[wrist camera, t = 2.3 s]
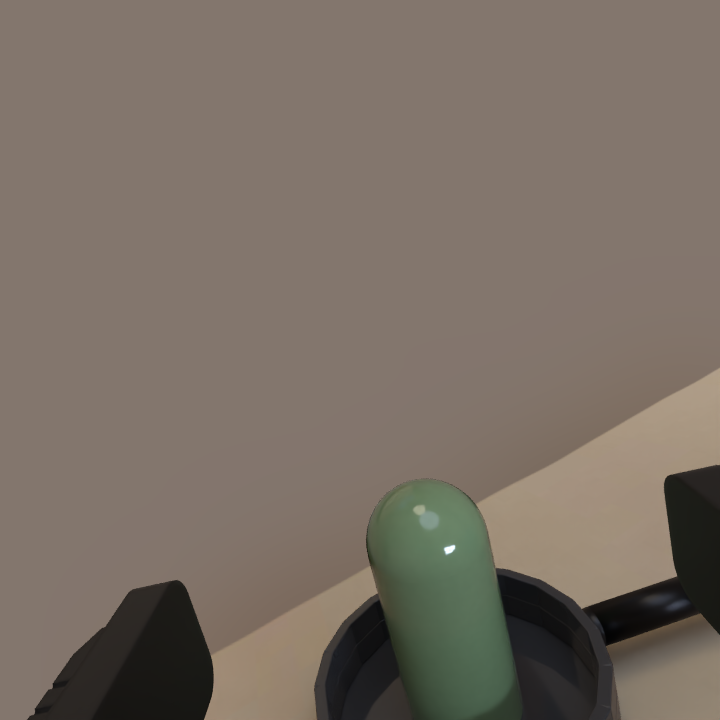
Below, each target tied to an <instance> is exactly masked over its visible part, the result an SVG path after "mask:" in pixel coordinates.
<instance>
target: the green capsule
mask: <svg viewBox="0 0 720 720" xmlns="http://www.w3.org/2000/svg"><path fill="white" fill-rule="evenodd" d="M366 536H367V537H366V546H367V552H368V558H369V562H370V566H371V569H372V573H373V577H374V581H375V585H376V588H377V592H378V596H379V600H380V603H381V607H382V611H383V615H384V618H385V622H386V626H387V630H388V634H389V637H390V641H391V645H392V649H393V652H394V656H395V660H396V664H397V667H398V671H399V675H400V679H401V682H402V686H403V690H404V694H405V698H406V701H407V705H408V709H409V713H410V716H411V720H521V717H522V712H523V700H522V694H521V689H520V684H519V680H518V675H517V670H516V665H515V660H514V655H513V650H512V646H511V641H510V636H509V631H508V626H507V621H506V616H505V612H504V607H503V602H502V597H501V592H500V587H499V582H498V578H497V573H496V568H495V563H494V558H493V553H492V548H491V544H490V539H489V534H488V530H487V526H486V523H485V520H484V518H483V516H482V514H481V512H480V511H479V509H478V507H477V506H476V504H475V503H474V502H473V501H472V500H471V498H470V497H468V496H467V495H466V494H465V493H464V492H462V491H461V490H460V489H458V488H457V487H455V486H453V485H451V484H449V483H446V482H443V481H440V480H435V479H416V480H411V481H408V482H405V483H403V484H400V485H398V486H396V487H395V488H393V489H392V490H390V491H389V492H388V493H387V494H386V495H385V496H384V497H383V498H382V499H381V500H380V501H379V503H378V504H377V506H376V507H375V509H374V511H373V513H372V515H371V517H370V520H369V524H368V528H367V535H366Z"/></svg>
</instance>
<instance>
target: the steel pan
mask: <svg viewBox="0 0 720 720" xmlns="http://www.w3.org/2000/svg"><path fill="white" fill-rule="evenodd" d="M496 573H497V578H498V582H499V587H500V592H501V597H502V602H503V607H504V612H505V616H506V621H507V626H508V631H509V636H510V641H511V646H512V650H513V655H514V660H515V665H516V670H517V675H518V680H519V684H520V689H521V694H522V700H523V712H522V717H521V720H621V714H620V708H619V701H618V695H617V689H616V682H615V676H614V670H613V664H612V662H611V659H610V657H609V654H608V651H607V649H606V646H605V643H604V641H603V638H602V635H601V633H600V630H599V629H598V627H597V626H596V625H595V624H594V623H593V622H592V620H591V619H590V618H589V617H588V616H587V615H586V614H585V612H584V611H583V610H582V609H581V608H580V607H579V606H578V604H577V603H576V602H575V601H573V599H571V598H570V597H568V596H566V595H565V594H563V593H562V592H560V591H558V590H557V589H555V588H554V587H552V586H550V585H549V584H547V583H546V582H544V581H542V580H540V579H536V578H533V577H530V576H527V575H524V574H521V573H517V572H514V571H511V570H508V569H507V570H506V569H499V568H496ZM314 687H315V688H314V692H315V702H316V713H317V720H411V716H410V713H409V709H408V705H407V701H406V698H405V694H404V690H403V686H402V682H401V679H400V675H399V671H398V667H397V664H396V660H395V656H394V652H393V649H392V645H391V641H390V637H389V634H388V630H387V626H386V622H385V618H384V615H383V611H382V607H381V603H380V600H379V596H378V594H376V595H374V596H372V597H371V598H370V599H368V600H367V601H366V602H365V603H364V604H362V605H361V606H360V607H359V608H358V609H357V610H356V611H355V612H354V613H353V614H351V615H350V616H349V617H348V618H347V619H346V620H345V621H344V623H342V625H341V626H340V628H339V629H338V631H337V632H336V634H335V635H334V637H333V639H332V640H331V642H330V643H329V645H328V646H327V648H326V649H325V651H324V653H323V657H322V660H321V664H320V668H319V671H318V675H317V679H316V682H315V686H314Z"/></svg>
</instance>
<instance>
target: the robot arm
mask: <svg viewBox="0 0 720 720" xmlns="http://www.w3.org/2000/svg"><path fill="white" fill-rule="evenodd" d="M664 493H665V501H666V509H667V516H668V524H669V531H670V539H671V546H672V554H673V561H674V566H675V570H676V573H677V576H678V578H679V581H680V583H681V585H682V587H683V589H684V591H685V593H686V595H687V596H688V598H689V600H690V601H691V602H692V604H693V605H694V606H695V607H696V609H697V610H698V611H699V612H700V613H701V614H702V615H703V616H704V618H705V619H706V620H707V621H708V622H709V623H710V624H711V625H712V627H713V628H714V629H715V630H716V631H717V632H718V633H719V635H720V465H714V466H710V467H705V468H700V469H696V470H691V471H687V472H682V473H677V474H673V475H669V476H667V477H666V479H665V483H664ZM213 681H214V674H213V664H212V659H211V655H210V652H209V649H208V647H207V644H206V642H205V638H204V636H203V633H202V630H201V627H200V625H199V622H198V619H197V616H196V614H195V611H194V608H193V605H192V603H191V600H190V597H189V594H188V592H187V589H186V588H185V586H184V585H183V584H182V583H181V582H180V581H178V580H175V581H169V582H165V583H160V584H155V585H151V586H146V587H142V588H137V589H133V590H132V591H130V592H129V593H128V594H127V596H126V597H125V599H124V600H123V602H122V603H121V604H120V606H119V607H118V609H117V610H116V612H115V613H114V615H113V616H112V618H111V620H110V621H109V622H108V624H107V625H106V627H104V628H102V629H101V630H99V631H98V632H97V633H96V634H95V635H94V636H93V637H92V638H91V639H90V640H89V641H88V642H87V643H85V644H84V645H83V646H82V647H81V648H80V649H79V650H78V651H77V652H76V653H74V654H73V656H72V657H71V658H70V660H69V661H68V663H67V664H66V666H65V667H64V669H63V670H62V671H61V673H60V674H59V675H58V677H57V678H56V680H55V681H54V683H53V688H52V689H50V690H48V691H47V692H46V694H45V695H44V697H43V698H42V700H41V701H40V703H39V704H38V705H37V707H36V708H35V714H34V715H32V716H30V717H29V718H28V719H27V720H204V718H205V715H206V712H207V709H208V706H209V703H210V700H211V697H212V692H213Z"/></svg>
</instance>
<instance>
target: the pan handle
mask: <svg viewBox="0 0 720 720" xmlns="http://www.w3.org/2000/svg"><path fill="white" fill-rule="evenodd" d="M582 610H583V611H584V612H585V614H586V615H587V616H588V617H589V618H590V619H591V620H592V622H593V623H594V624H595V625H596V626H597V627H598V629H599V630H600V633H601V635H602V638H603V641H604V643H605V646H608V645H611V644H614V643H616V642H619V641H622V640H625V639H628V638H631V637H634V636H637V635H639V634H642V633H645V632H648V631H651V630H654V629H657V628H660V627H663V626H665V625H668V624H671V623H674V622H677V621H680V620H683V619H686V618H688V617H691V616H694V615H697V614H700V612H699V611H698V610H697V609H696V607H695V606H694V605H693V604H692V602H691V601H690V600H689V598H688V596H687V595H686V593H685V591H684V589H683V587H682V585H681V583H680V581H679V578H678V576H677V577H674V578H671V579H668V580H665V581H662V582H659V583H656V584H653V585H650V586H647V587H644V588H641V589H638V590H635V591H633V592H630V593H627V594H624V595H621V596H618V597H615V598H612V599H609V600H606V601H603V602H600V603H597V604H594V605H591V606H588V607H585V608H583V609H582Z"/></svg>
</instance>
